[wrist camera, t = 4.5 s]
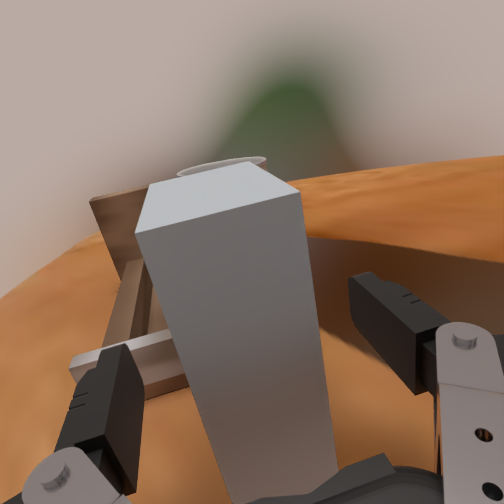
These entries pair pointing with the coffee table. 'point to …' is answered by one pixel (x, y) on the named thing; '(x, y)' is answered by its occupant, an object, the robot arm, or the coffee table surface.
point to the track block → (133, 300)
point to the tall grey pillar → (244, 324)
